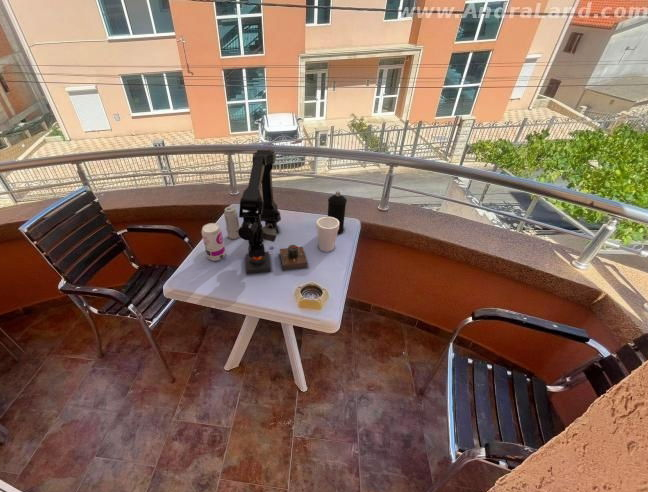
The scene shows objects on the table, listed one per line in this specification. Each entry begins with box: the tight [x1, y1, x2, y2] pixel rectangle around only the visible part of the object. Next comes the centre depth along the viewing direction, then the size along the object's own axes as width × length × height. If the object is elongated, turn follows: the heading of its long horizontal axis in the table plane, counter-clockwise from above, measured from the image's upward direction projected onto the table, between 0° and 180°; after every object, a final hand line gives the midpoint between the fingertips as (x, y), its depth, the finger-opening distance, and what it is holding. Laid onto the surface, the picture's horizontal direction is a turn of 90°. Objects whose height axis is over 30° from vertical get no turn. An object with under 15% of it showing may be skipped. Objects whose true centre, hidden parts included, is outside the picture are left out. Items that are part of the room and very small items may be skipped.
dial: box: [287, 244, 299, 258], centre depth 133 cm, size 4×4×4 cm
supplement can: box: [200, 222, 227, 262], centre depth 137 cm, size 8×8×15 cm
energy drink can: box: [223, 205, 241, 240], centre depth 148 cm, size 6×6×15 cm
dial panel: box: [279, 246, 308, 271], centre depth 135 cm, size 11×10×3 cm
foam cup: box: [316, 216, 339, 253], centre depth 138 cm, size 10×9×13 cm
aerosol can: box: [327, 190, 348, 235], centre depth 146 cm, size 8×8×20 cm
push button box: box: [245, 251, 272, 275], centre depth 134 cm, size 11×10×4 cm
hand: (257, 256), depth 133 cm, fingers closed, pressing on power button
